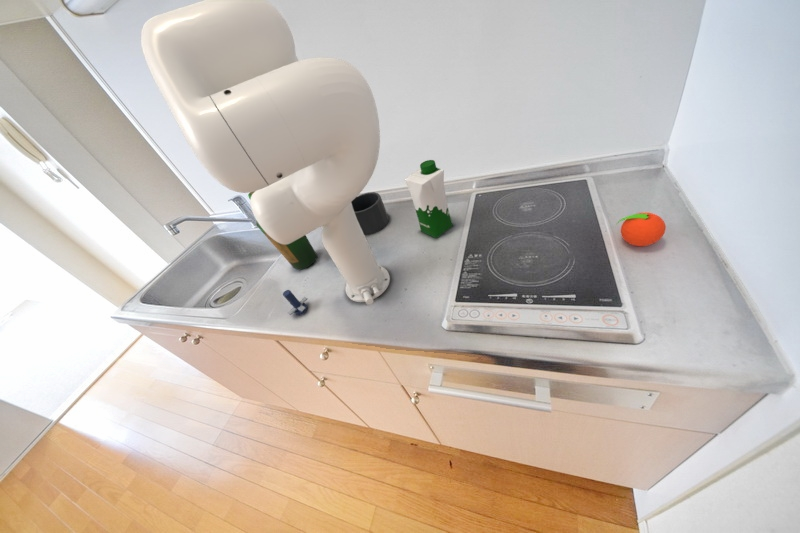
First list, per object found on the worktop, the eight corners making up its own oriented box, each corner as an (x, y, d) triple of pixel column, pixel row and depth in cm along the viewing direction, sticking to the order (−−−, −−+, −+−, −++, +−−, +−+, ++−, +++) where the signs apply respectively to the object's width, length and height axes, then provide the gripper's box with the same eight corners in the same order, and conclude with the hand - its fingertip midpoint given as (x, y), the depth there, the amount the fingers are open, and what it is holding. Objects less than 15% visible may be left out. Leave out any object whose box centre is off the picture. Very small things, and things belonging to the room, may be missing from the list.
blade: (312, 312, 71) (297, 294, 66) (292, 322, 71) (275, 305, 66) (310, 298, 76) (296, 280, 71) (291, 308, 75) (275, 290, 70)
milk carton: (457, 225, 80) (445, 161, 67) (435, 241, 78) (419, 178, 65) (437, 217, 87) (423, 157, 74) (416, 232, 84) (398, 172, 71)
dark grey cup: (393, 224, 91) (385, 201, 85) (360, 239, 90) (349, 217, 84) (382, 210, 101) (374, 188, 95) (352, 224, 99) (342, 203, 93)
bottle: (293, 257, 94) (240, 186, 76) (321, 247, 94) (274, 173, 76) (289, 277, 86) (229, 202, 68) (320, 266, 86) (267, 187, 68)
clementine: (611, 250, 58) (619, 224, 53) (610, 231, 62) (618, 204, 57) (660, 254, 54) (674, 226, 49) (657, 233, 58) (669, 205, 53)
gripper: (239, 146, 58) (286, 216, 70) (307, 117, 60) (342, 190, 71) (242, 139, 64) (285, 205, 76) (304, 113, 65) (337, 182, 77)
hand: (312, 197), depth 73 cm, fingers closed on lid, 2 cm apart
